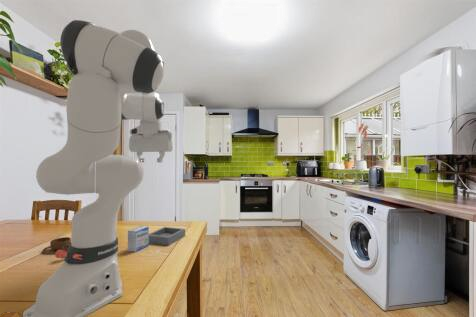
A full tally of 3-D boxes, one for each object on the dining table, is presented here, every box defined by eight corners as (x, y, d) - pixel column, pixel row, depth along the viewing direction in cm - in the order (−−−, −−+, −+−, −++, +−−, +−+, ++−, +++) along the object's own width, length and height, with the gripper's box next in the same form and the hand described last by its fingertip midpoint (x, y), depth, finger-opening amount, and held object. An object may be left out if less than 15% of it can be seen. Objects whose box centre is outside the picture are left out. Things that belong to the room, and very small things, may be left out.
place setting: (89, 244, 108) (89, 231, 108) (70, 263, 89) (70, 247, 89) (44, 247, 104) (44, 234, 104) (14, 268, 84) (14, 251, 84)
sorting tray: (185, 235, 118) (185, 228, 118) (168, 245, 105) (168, 237, 105) (164, 233, 122) (164, 226, 122) (146, 242, 109) (146, 234, 109)
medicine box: (136, 252, 97) (136, 231, 97) (127, 251, 99) (127, 230, 99) (149, 245, 105) (149, 226, 105) (140, 244, 106) (140, 225, 106)
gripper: (175, 130, 102) (175, 162, 102) (136, 132, 109) (136, 162, 108) (166, 128, 96) (166, 162, 96) (126, 130, 103) (126, 162, 102)
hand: (150, 162), depth 102 cm, fingers open, 8 cm apart
